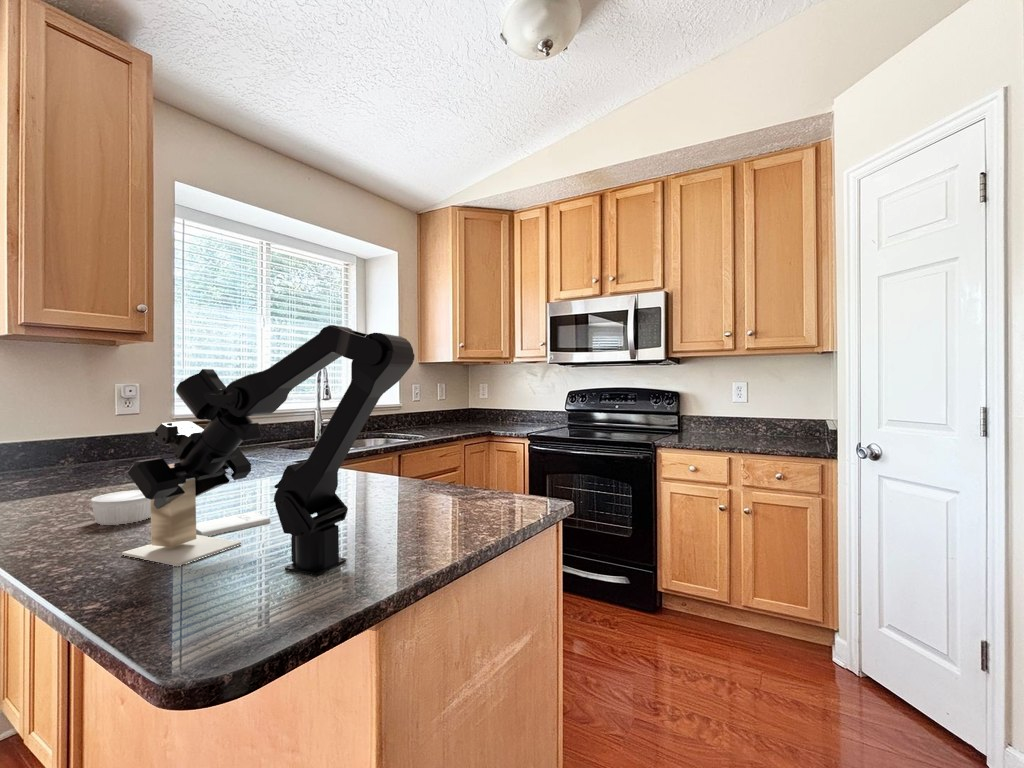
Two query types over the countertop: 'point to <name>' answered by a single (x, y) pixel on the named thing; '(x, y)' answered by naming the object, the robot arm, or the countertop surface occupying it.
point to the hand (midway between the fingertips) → (170, 503)
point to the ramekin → (121, 507)
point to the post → (175, 518)
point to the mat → (182, 550)
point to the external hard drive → (230, 523)
